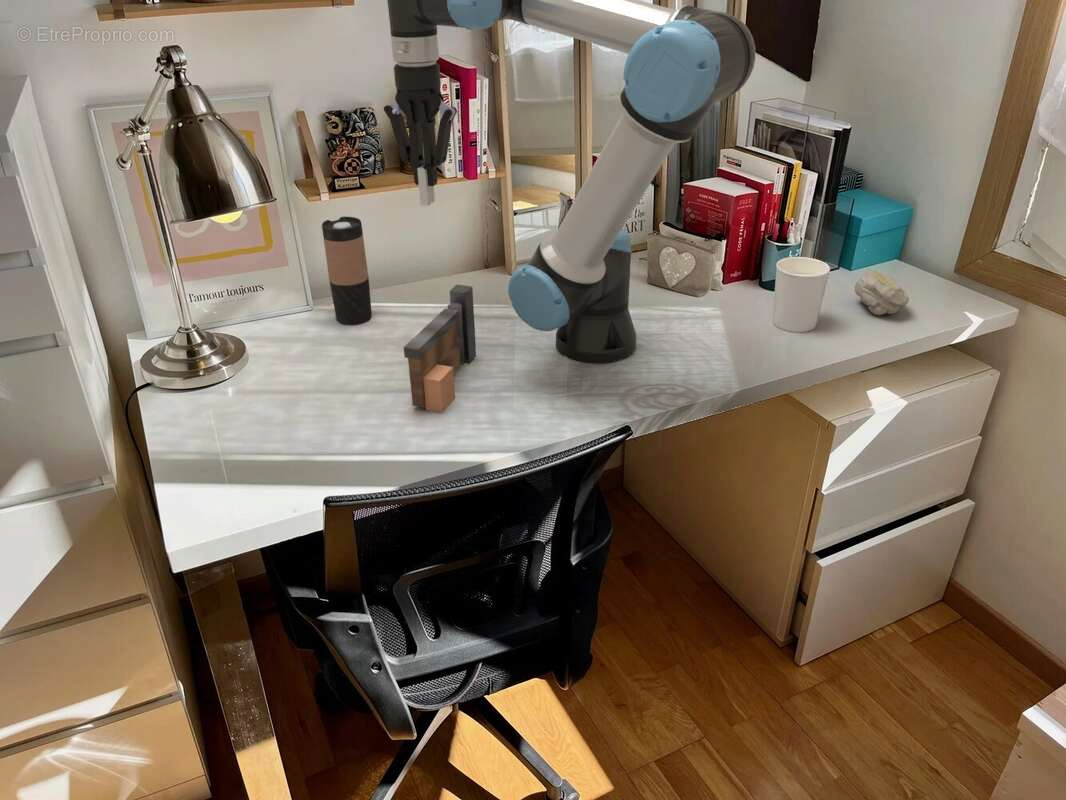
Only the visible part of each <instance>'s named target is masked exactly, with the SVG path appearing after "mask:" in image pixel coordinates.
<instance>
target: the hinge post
mask: <svg viewBox="0 0 1066 800" xmlns="http://www.w3.org/2000/svg"><path fill="white" fill-rule="evenodd" d="M473 291H474V290H473V286H471V285H465V284H464V285H462V284H455V285H454V287H452V288H451V289H450V290H449V301H450V302H449V304H451V303H459V304H461V308H462V324H463V340H464V355H465V363H464V364H468V365H470V364H471V363H472V362H473V361H474V360H475V359H476V358H475V357H477V348H476V328H475V327H476V326H475V310H474V292H473Z"/></svg>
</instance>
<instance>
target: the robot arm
mask: <svg viewBox="0 0 1066 800" xmlns="http://www.w3.org/2000/svg"><path fill="white" fill-rule="evenodd" d="M387 9H388V17H389V27H390V42H391V51H392V61H394V63H395V65H394V66H393V75H394V85H395V87H396V93H395V96H394V99H395V100H393V101H392V102H391V103H389V104H387V105H385V106H384V107H383V112H384V113H385V115H386V116H387V118H388V119H389V121H390V124H391V127H392V131H393V134H394V138H395V141H396V145H397V148H398V151H399V154H400V158H401V161H402V162H403V163H404V164H409V165H411V167H412V169H413V180H414V181H413V182H414V184H415V185H416V186H418V191H419V192H418V193H419V203H420V206H427V207H428V206H430V205H431V204H433V203H435V202H436V199H435V198H436V197H435V187H434V186H437V184H438V170H437V168H438V166H440V165H442V164H443V163H445V162H446V161H447V157H448V152H449V145H450V137H451V133H452V132H451V131H452V126H453V120H454V119H455V116H456V115H457V113H458V109H457V107H456V106H452V107H451V106H450V105H448V104H447V103H445V102H444V99H445V98H444V96H443V94H442V91H441V88H442V87H441V83H442V82H441V69H440V64H439V63H438V62H436V61H438V60H439V59H440V52H439V42H438V40H439V39H438V26H442V27H451V28H453V27H454V28H460V29H461V28H462V29H466V30H470V31H472V30H474V29H480V30H481V29H488V28H491V27H492V26H493V25H494V23H496V22H499V21H504V20H505V21H506V20H510V21H515V22H517V23H521V24H524V25H528V26H532V27H537V28H540V29H542V30H546V31H549V32H553V33H556V34H559V35H562V36H566V37H570V38H573V39H576V40H580V41H583V42H586V43H591V44H592V45H593V44H594V45H597V46H600V47H603V48H607V49H610V50H613V51H616V52H620V53H624V54H627V57H626V59H625V64H624V68H623V74H622V75H623V78H622V79H623V80H624V83H625V85H624V88H622V91H621V93H620V94H619V104H620V106H621V110H622V113H621V116H620V117H619V118H618V121H617V123H616V125H615V126H614V128H613V130H612V131H611V134H610V135H609V137H608V139H607V141H606V143H605V144H604V147H602V150H601V152H600V153H599V155H598V157H597V159H596V161H595V162H594V164H593V166H592V168H591V170H590V171H589V173H588V175H587V177H586V178H585V181H584V182H583V183H582V186H581V187H580V189H579V191H578V193H577V195H576V197H575V199H574V200H573V202H572V204H571V206H570V207H569V210H568V211H567V213H566V215H565V217H564V218H563V220H562V222H561V224H560V225H559V228H558V229H557V231H551V232H548V233H546V234H545V235H544V236H543V237H542V239H541V240H540V242H539V244H538V246H537V248H536V249H535V251H534V252H533V255H532V257H531V259H530V260H529V262H527V264H523V265H521V266H519V267H518V268H517V269H516V270H515V271H514V272H513V273H512V274H511V275H510V278H509V280H508V287H507V288H508V289H507V291H508V292H507V293H508V298H509V299H510V301H511V306H512V308H513V310H514V311H515V313H516V314H517V316H518V317H519V318H520V319H521V321H523V323H524V324H526V325H527V326H529V327H531V328H532V329H534V330H536V331H540V332H552V331H555V330H556V331H555V348H556V351H557V353H559V354H561V355H562V357H565V358H567V359H569V360H572V361H574V362H578V363H585V364H593V365H594V364H595V365H596V364H597V365H598V364H599V365H600V364H611V363H617V362H619V361H622V360H625V359H627V358H629V357H630V356H632V355H633V353H634V352H635V351H636V348H637V333H636V330H635V326H634V323H633V320H632V316H631V314H630V309H629V303H630V302H629V301H630V300H629V299H630V296H629V295H630V281H631V280H630V278H631V259H632V258H631V257H632V252H633V249H632V239H631V235H630V233H629V232H628V231H626V229H624V226H625V225H626V223H627V222H628V220H629V218H630V216H631V215H632V213H633V212H634V210H635V209H636V207H637V205H638V204H639V202H640V200H641V199H642V197H643V196H644V194H645V193H646V191H647V189H648V188H649V186H650V185H651V183H652V181H653V180H654V178H655V176H656V175H657V173H658V172H659V170H660V169H661V167H662V165H663V164H664V162H665V160H666V159H667V157H668V156H669V154H670V153H671V151H672V149H673V147H674V146H675V144H680V143H687V142H688V141H690V140H691V139H692V138H693V136H694V134H695V133H696V131H697V129H698V128H699V126H700V125H701V124H702V123H703V120H704V119H705V117H706V116H707V115H708V112H710V110H711V108H712V107H713V105H714V104H716V103H719V102H722V101H723V100H726V99H728V98H729V97H731V96H733V95H735V94H736V93H737V92H739V91H741V89H742V88H743V87H744V86H745V84H746V83H747V82H748V80H749V78H750V77H751V75H752V72H753V70H754V69H755V64H756V63H755V62H756V44H755V40H754V37H753V35H752V33H751V31H750V29H749V27H748V26H747V25H746V24H745V22H743V20H741V19H740V18H738V17H736V16H735V15H732V14H730V13H727V12H724V11H716V10H711V9H706V8H700V7H697V6H692V5H689V4H688V5H687V4H684V5H682V6H680V7H679V8H678V9H673V8H670V7H666V6H661V5H659V4H655V3H654V4H653V3H651V2H650V3H649V2H647V1H643V0H387ZM439 111H440V113H439ZM402 113H403V114H404V116H405V119H406V120H405V119H404V116H403V114H402ZM438 114H439V117H440V121H439V124H438V131H437V137H436V127H435V125H436V123H437V121H436V117H437V115H438ZM405 121H406V122H405ZM407 128H408V129H407Z"/></svg>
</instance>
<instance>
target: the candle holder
mask: <svg viewBox="0 0 1066 800" xmlns="http://www.w3.org/2000/svg"><path fill="white" fill-rule="evenodd" d="M775 265H776V266H775V268H776V269H775V281H774V282H775V284H774V295H773V309H772V311H773V312H772V322H773V324H774V326H776V327H777V328H779V329H781V330H783V331H787V332H791V333H806V332H807V333H808V332H811V331H813V330H815V328H816V327H817V324H818V320H819V317H820V312H821V307H822V304H823V300H824V295H825V290H826V287H827V283H828V279H829V274H830V271H831V267H830V265H829V264H827V263H826V262H824V261H822V260H821V259H820V260H819V259H816V258H812V257H805V256H790V257H785V258H782V259H779V260H778V261H777V262H776V264H775Z"/></svg>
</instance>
